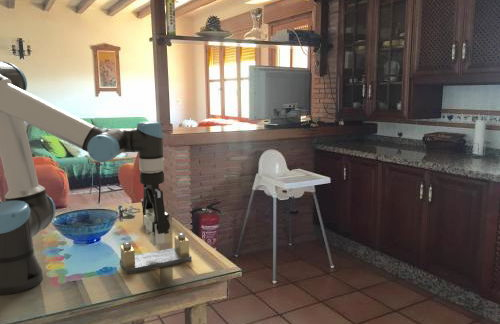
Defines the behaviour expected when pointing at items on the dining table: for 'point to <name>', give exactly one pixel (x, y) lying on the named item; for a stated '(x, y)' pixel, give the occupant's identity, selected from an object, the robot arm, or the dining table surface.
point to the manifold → (155, 256)
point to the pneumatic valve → (149, 224)
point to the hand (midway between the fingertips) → (155, 237)
